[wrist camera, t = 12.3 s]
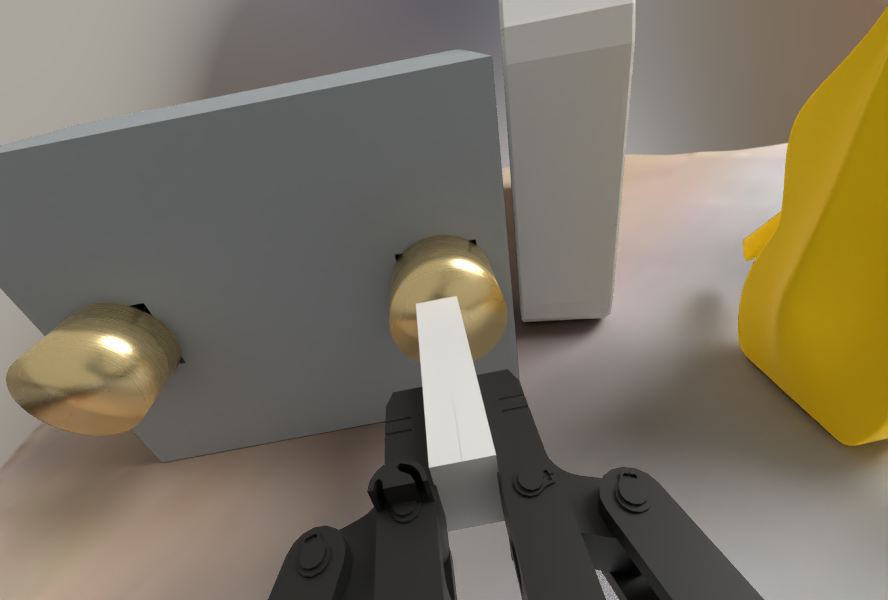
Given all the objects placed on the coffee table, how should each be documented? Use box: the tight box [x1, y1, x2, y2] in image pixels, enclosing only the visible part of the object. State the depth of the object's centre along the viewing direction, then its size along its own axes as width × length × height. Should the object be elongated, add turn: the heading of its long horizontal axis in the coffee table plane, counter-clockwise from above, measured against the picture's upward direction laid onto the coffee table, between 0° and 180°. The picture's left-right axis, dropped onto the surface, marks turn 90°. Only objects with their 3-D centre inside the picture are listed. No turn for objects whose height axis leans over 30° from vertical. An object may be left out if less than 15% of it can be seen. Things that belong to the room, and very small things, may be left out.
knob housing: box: [0, 49, 520, 463], centre depth 21 cm, size 20×9×16 cm, turn 95°
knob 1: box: [6, 303, 181, 436], centre depth 19 cm, size 4×9×4 cm, turn 5°
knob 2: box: [389, 235, 507, 362], centre depth 19 cm, size 4×9×4 cm, turn 5°
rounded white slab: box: [499, 0, 636, 322], centre depth 32 cm, size 29×8×18 cm, turn 172°
